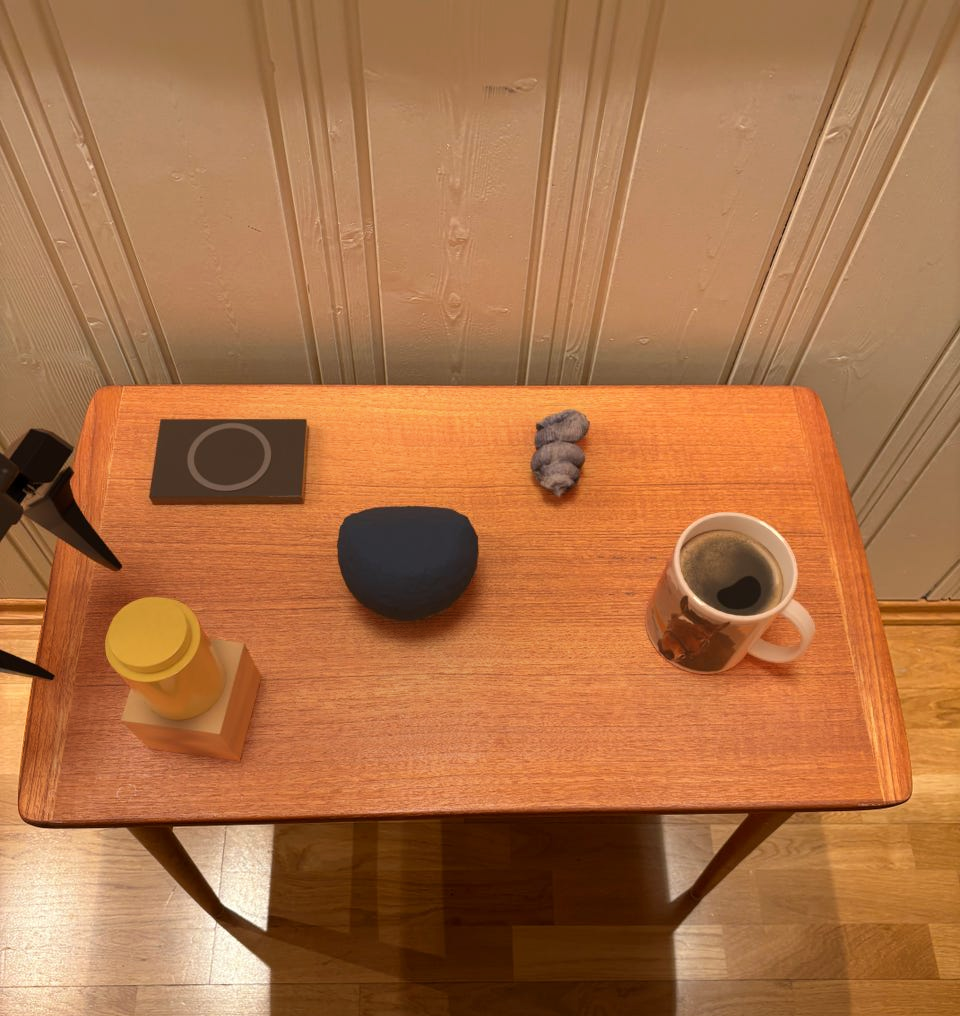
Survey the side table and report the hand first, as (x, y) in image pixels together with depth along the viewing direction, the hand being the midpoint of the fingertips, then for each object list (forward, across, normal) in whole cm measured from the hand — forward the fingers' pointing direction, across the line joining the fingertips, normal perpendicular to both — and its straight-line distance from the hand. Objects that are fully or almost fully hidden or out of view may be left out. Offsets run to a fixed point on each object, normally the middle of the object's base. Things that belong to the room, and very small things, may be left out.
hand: (86, 622), depth 62 cm
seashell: (+28, +34, -9) cm, 45 cm away
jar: (+8, 0, 0) cm, 8 cm away
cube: (+13, 0, +5) cm, 14 cm away
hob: (+7, +23, +12) cm, 27 cm away
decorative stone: (+22, +17, -3) cm, 28 cm away
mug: (+41, +22, -22) cm, 51 cm away
